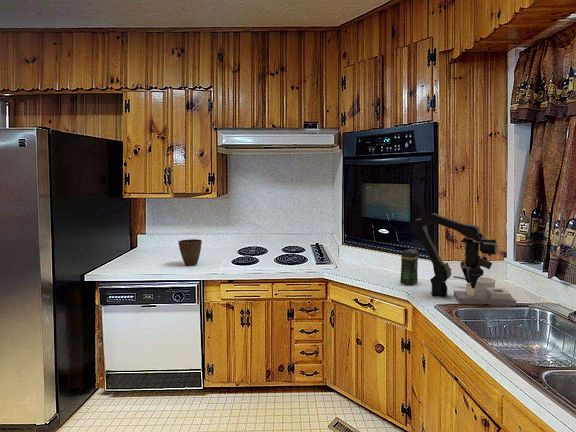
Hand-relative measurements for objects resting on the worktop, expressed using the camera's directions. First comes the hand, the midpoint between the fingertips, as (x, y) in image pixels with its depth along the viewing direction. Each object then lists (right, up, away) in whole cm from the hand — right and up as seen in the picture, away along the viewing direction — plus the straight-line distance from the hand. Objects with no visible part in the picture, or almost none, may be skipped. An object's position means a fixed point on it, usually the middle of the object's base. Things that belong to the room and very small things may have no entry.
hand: (470, 285), depth 196 cm
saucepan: (+10, -5, +19) cm, 22 cm away
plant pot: (-149, 0, +81) cm, 169 cm away
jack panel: (+6, -7, 0) cm, 9 cm away
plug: (0, -7, +1) cm, 7 cm away
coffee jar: (-20, -4, +31) cm, 37 cm away
